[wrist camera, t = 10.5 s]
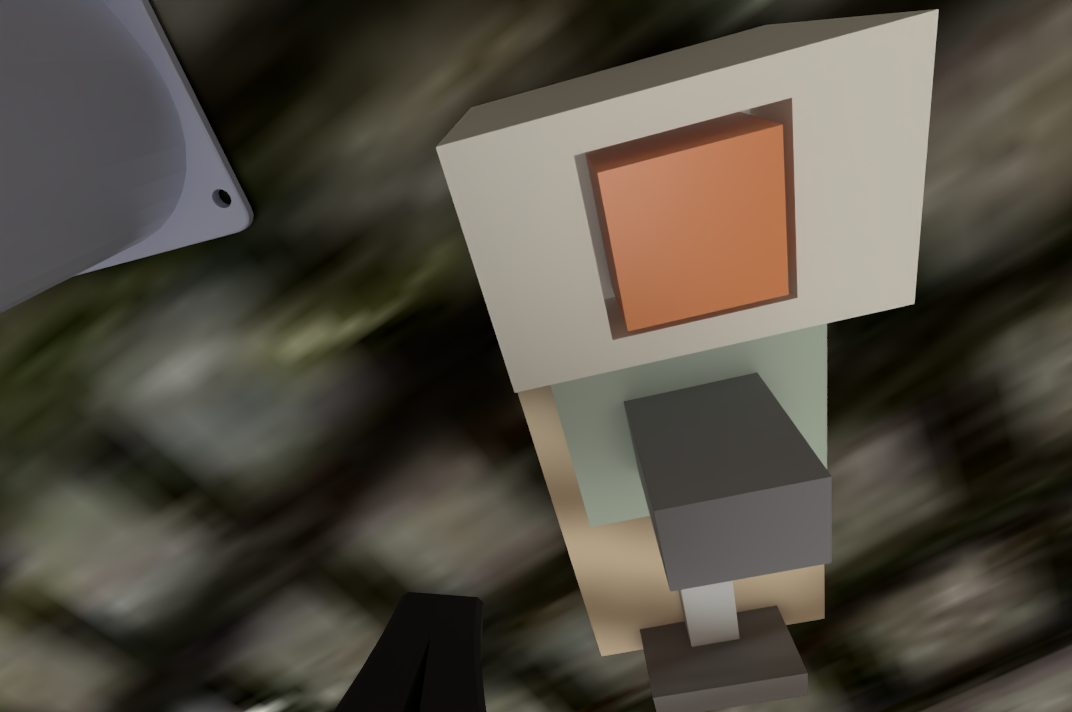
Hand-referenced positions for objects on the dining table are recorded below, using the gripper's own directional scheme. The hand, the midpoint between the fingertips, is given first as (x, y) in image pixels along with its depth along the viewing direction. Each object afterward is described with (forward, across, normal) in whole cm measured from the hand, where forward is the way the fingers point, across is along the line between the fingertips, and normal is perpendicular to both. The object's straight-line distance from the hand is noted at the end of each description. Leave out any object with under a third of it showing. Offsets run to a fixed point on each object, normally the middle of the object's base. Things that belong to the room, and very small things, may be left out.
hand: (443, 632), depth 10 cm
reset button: (+5, -4, -7) cm, 9 cm away
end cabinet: (+10, -4, -7) cm, 13 cm away
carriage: (+9, -6, -1) cm, 11 cm away
